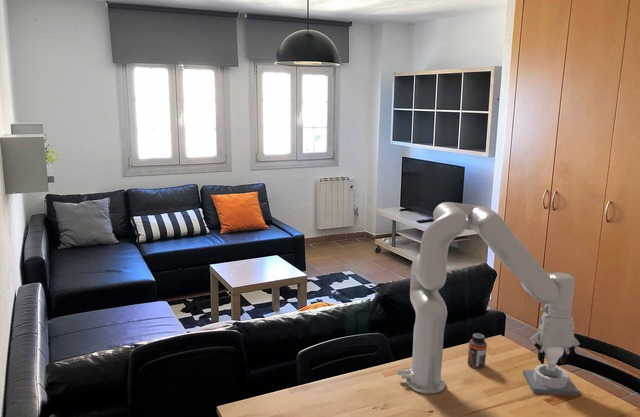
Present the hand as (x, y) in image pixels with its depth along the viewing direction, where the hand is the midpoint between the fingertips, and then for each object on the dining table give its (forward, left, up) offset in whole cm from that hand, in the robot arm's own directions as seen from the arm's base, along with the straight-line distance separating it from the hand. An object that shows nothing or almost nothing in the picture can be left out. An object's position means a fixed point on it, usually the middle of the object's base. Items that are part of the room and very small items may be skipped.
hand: (551, 362), depth 172 cm
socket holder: (0, 0, -8) cm, 8 cm away
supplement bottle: (-22, +10, -8) cm, 25 cm away
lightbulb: (0, 0, -3) cm, 3 cm away
